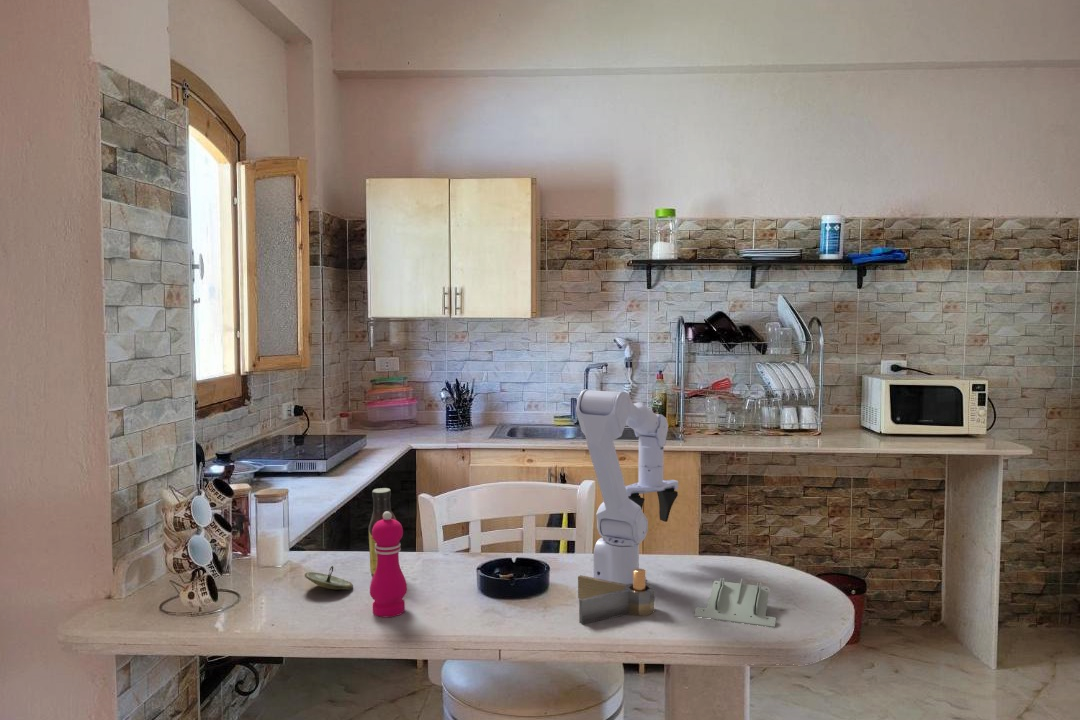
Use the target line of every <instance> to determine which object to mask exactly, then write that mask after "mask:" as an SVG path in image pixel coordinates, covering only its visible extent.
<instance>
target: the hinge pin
mask: <svg viewBox="0 0 1080 720" xmlns="http://www.w3.org/2000/svg"><path fill="white" fill-rule="evenodd" d="M645 577H646V569H645V568H639V569H634V570H633V590H634V591H638V592H640V591H645V584H646V579H645Z"/></svg>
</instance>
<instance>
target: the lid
mask: <svg viewBox="0 0 1080 720" xmlns="http://www.w3.org/2000/svg"><path fill="white" fill-rule="evenodd" d="M328 572H329V573H328V574H327V573H326V574H325V573H321V572H313V571H311V572H306V573H304V578H306V579H307V580H308V581H310V582H311V583H313V584H314V585H317V586H319V587H321V588H323V589H329V590H337V591H340V590H351V589H353V588H354V585H353V583H352V582H350V581H349V580H345V579H344V578H343V579H342V578H340V577H337V576H335V575H334V576H333V575H332V573H333V572H334V566H333V565H331V566H330V567H329V571H328Z"/></svg>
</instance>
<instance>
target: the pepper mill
mask: <svg viewBox="0 0 1080 720" xmlns="http://www.w3.org/2000/svg"><path fill="white" fill-rule="evenodd" d="M391 517H392V514H391V513H390V512H388V511H386V512H384V513H383V519H382V520H380V521H378V522H377V523H376V524H375V525H374V526H373V529H372V538H373V540H374V541H375V542H376V544H375V552H376V553H377V567H376V571H375V574H374V576H373V579H371V582H370V585H369V595H370V597H371V599H373V600H374V601H373V602H372V614H373V615H374V616H377V617H381V618H392V617H397V616H399V615H401V614H403V613H404V612H405V610H406V607H405V606H406V604H405V603H406V602H405V599H403V598H404V597H406V595H407V592H408V584H407V581H406V578H405V576H404V574H403V571H402V569H401V566H400V562H399V560H400V559H398V555H399V554H400V553H399V552H401V550H402V548H401V542H400V541H401V540H402V538H403V534H404V528H403V526H402V523H400V521H398V520H397V519H396V520H394V519H391Z"/></svg>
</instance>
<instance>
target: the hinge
mask: <svg viewBox="0 0 1080 720" xmlns="http://www.w3.org/2000/svg"><path fill="white" fill-rule="evenodd" d="M577 598H578V602H579V603H578V606H579V608H578V610H579V613H578V615H579V619H578V621H579V624H581V625H586V624H589V623H593V622H598V621H603V620H607V619H611V618H617V617H620V616H625V615H633V616H638V617H640V616H641V617H642V616H649V615H651V614H652V613H654V612H655V588H654V586H652V585H651V584H648V583H645V591H640V592H638V591H634V590H633V583H632V584H628V585H627V584H622V583H617V582H612V581H607V580H602V579H597V578H594V577H591V576H586V575H581V574H580V575H578V577H577ZM653 611H654V612H653Z"/></svg>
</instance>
